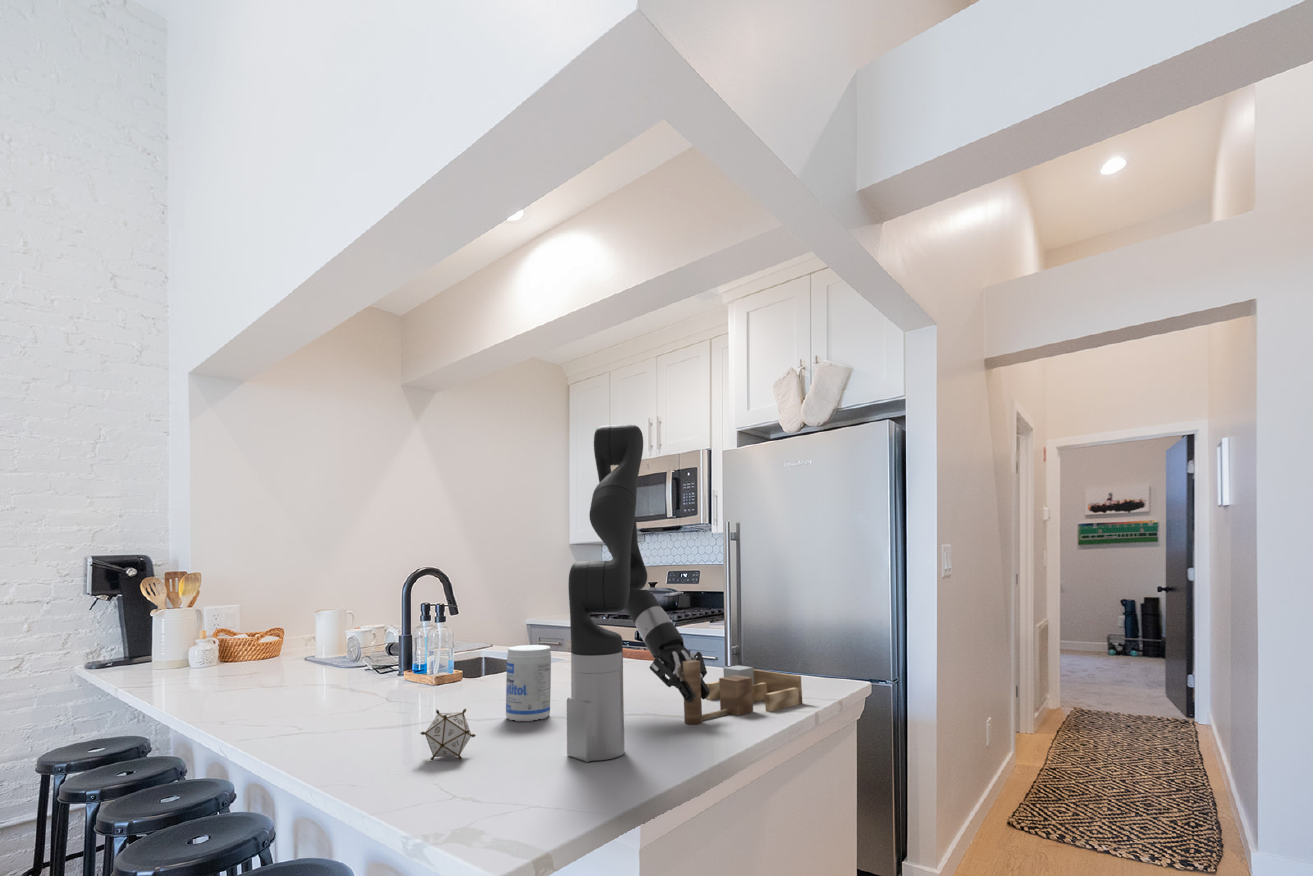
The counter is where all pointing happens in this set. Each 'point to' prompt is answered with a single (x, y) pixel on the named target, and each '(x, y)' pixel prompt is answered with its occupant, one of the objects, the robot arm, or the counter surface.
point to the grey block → (739, 671)
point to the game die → (448, 734)
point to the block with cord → (732, 694)
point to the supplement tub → (528, 682)
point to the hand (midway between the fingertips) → (699, 698)
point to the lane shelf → (770, 689)
